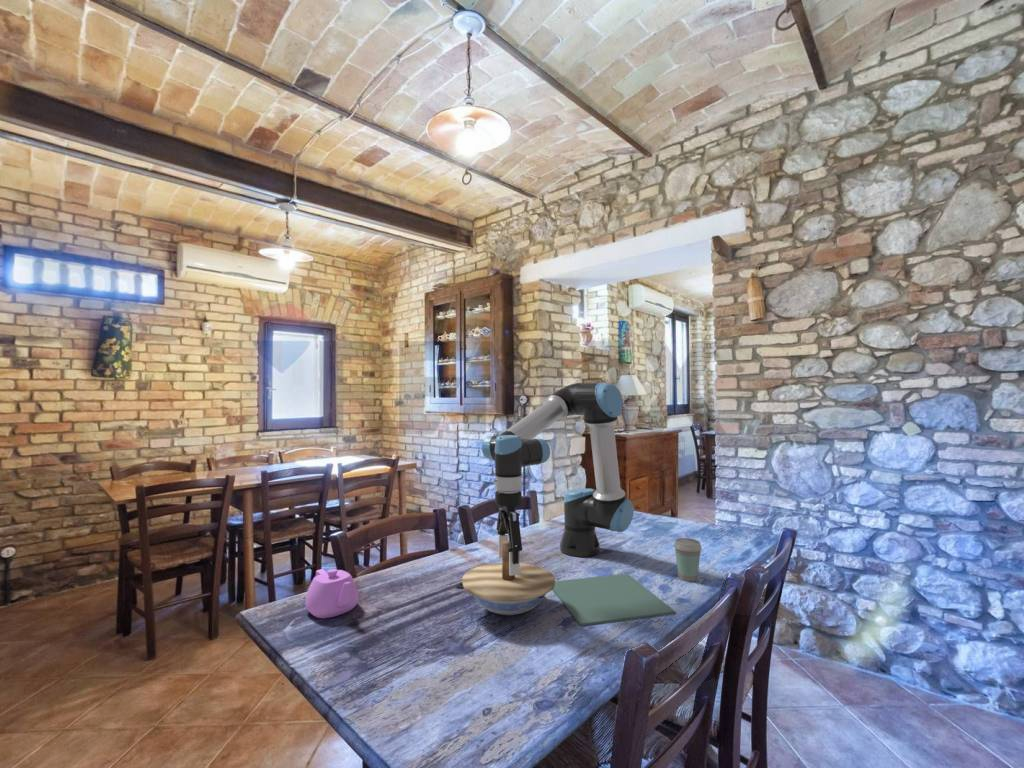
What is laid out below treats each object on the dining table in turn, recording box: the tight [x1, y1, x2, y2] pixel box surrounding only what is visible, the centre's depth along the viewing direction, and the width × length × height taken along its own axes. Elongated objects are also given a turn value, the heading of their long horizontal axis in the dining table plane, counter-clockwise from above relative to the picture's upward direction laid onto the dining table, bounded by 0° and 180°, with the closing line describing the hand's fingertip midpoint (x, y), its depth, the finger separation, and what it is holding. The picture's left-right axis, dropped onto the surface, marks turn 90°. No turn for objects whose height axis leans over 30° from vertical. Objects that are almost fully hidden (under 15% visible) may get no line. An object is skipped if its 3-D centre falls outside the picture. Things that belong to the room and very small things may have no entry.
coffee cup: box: [673, 537, 702, 583], centre depth 160 cm, size 8×8×12 cm
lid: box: [461, 539, 556, 601], centre depth 137 cm, size 26×26×11 cm
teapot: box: [305, 568, 360, 619], centre depth 138 cm, size 13×20×11 cm
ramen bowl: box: [456, 582, 547, 616], centre depth 137 cm, size 25×23×8 cm
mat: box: [551, 573, 676, 627], centre depth 145 cm, size 28×28×1 cm
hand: (508, 565), depth 138 cm, fingers open, 13 cm apart
